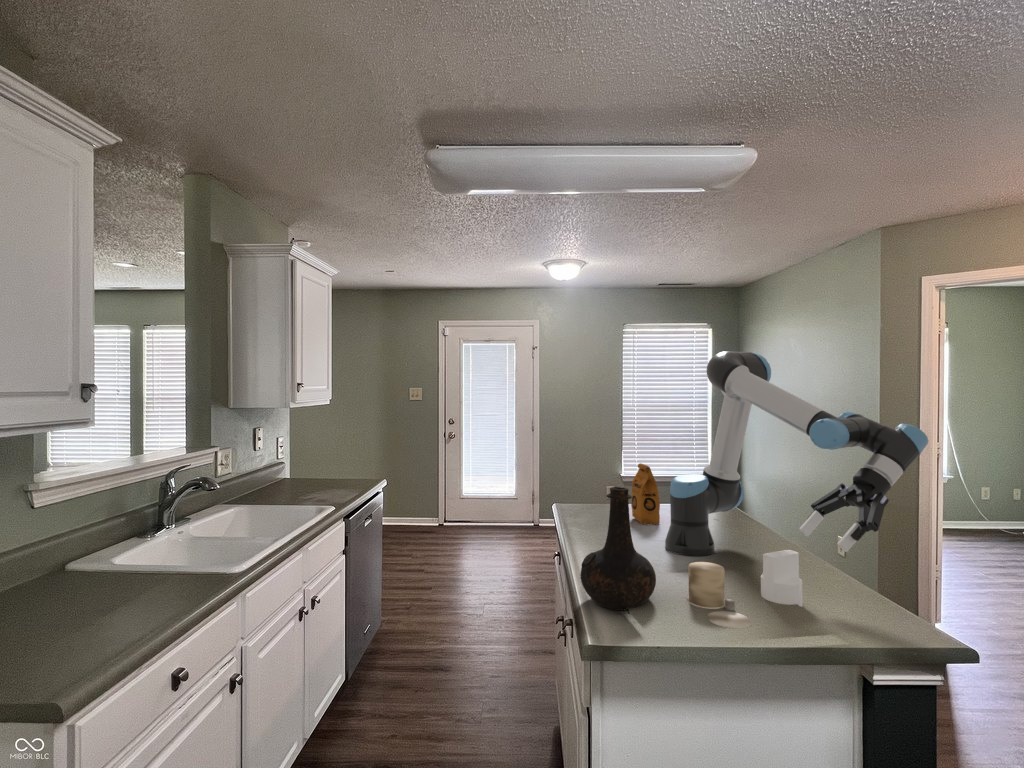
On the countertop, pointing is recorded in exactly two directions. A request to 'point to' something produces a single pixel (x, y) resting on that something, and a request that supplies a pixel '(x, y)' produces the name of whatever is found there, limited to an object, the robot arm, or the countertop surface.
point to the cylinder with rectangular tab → (781, 578)
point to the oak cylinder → (706, 584)
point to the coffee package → (645, 497)
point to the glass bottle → (618, 562)
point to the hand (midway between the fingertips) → (821, 540)
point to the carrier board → (727, 616)
